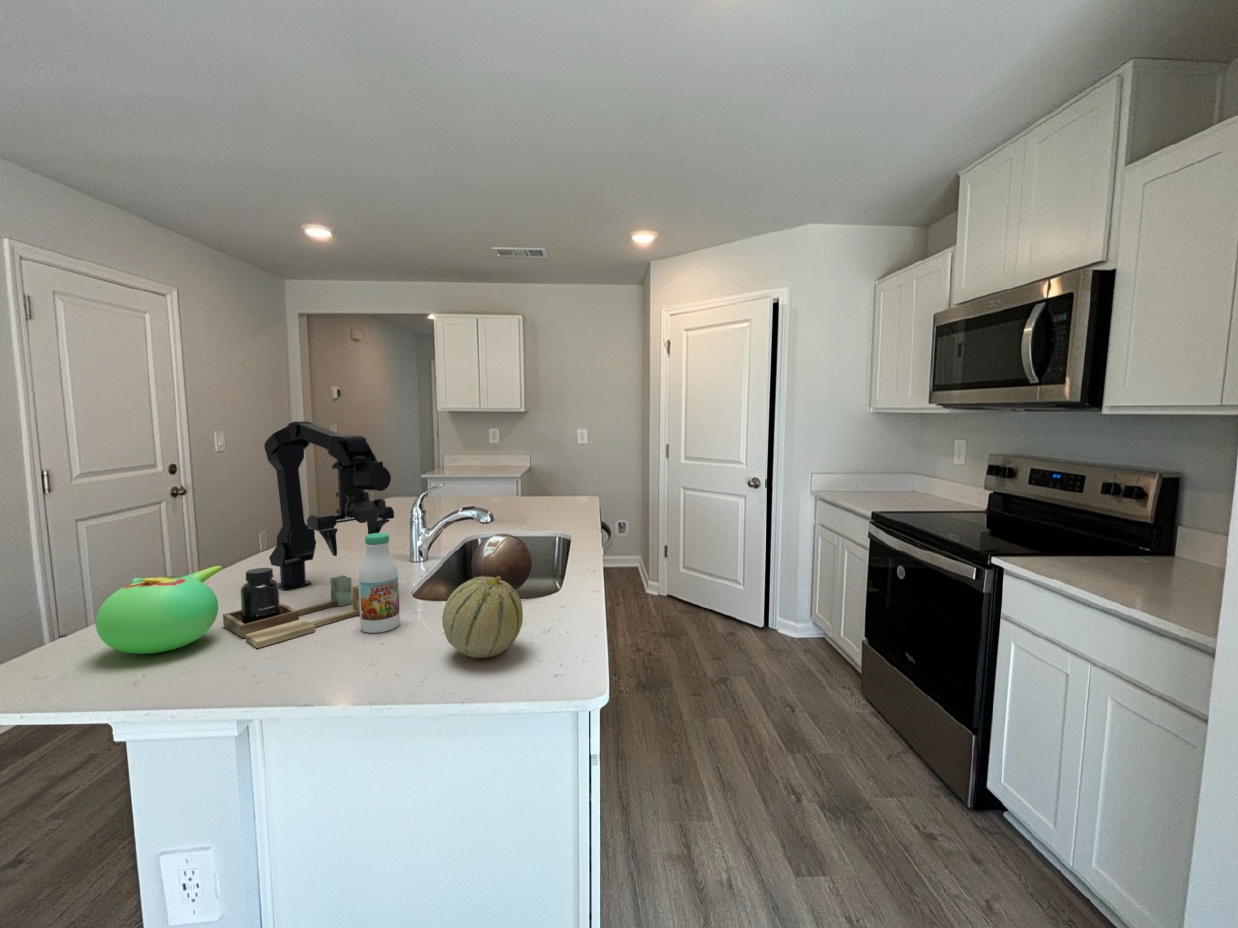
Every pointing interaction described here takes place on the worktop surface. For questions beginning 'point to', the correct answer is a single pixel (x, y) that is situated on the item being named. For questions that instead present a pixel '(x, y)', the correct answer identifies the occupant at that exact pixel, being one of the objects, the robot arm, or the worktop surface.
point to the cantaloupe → (482, 617)
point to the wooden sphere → (503, 560)
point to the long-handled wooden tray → (298, 626)
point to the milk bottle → (378, 587)
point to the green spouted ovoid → (158, 613)
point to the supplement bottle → (259, 596)
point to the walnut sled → (290, 610)
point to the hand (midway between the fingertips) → (354, 551)
